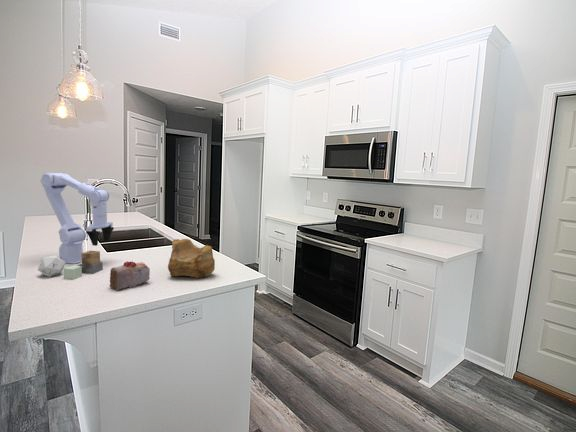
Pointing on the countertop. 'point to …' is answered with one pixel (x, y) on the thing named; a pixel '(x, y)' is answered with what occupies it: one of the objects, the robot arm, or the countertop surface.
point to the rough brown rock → (190, 259)
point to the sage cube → (72, 272)
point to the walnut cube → (90, 257)
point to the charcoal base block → (91, 268)
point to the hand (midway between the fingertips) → (100, 243)
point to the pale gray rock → (51, 265)
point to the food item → (129, 275)
